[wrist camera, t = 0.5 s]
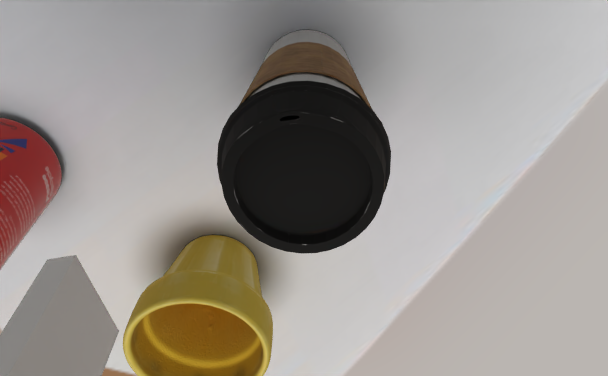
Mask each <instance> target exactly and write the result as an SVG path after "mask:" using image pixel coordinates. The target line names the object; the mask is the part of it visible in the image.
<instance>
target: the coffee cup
mask: <svg viewBox="0 0 608 376" xmlns="http://www.w3.org/2000/svg"><path fill="white" fill-rule="evenodd" d="M390 162H391V150H390V145H389V140H388V136H387V134H386V131H385V129H384V127H383V125H382V122H381V121H380V120H379V118H378V117H377V116H376V114H375V113H374V112H373V110H372V108H371V106H370V104H369V102H368V100H367V98H366V96H365V94H364V91H363V89H362V87H361V85H360V83H359V81H358V79H357V77H356V75H355V73H354V70H353V68H352V67H351V64H350V62H349V59H348V57H347V55H346V53H345V51H344V50H343V48H342V47H341V45H340V44H339V43H338V42H337V41H336V40H335V39H333V38H332V37H330V36H328V35H327V34H324V33H322V32H319V31H314V30H299V31H295V32H291V33H289V34H287V35H285V36H283V37H282V38H280V39H279V40H278V41H276V43H275V44H274V45H273V46H272V47H271V48H270V50H269V52H268V54H267V55H266V57H265V59H264V61H263V64H262V65H261V67H260V69H259V71H258V73H257V74H256V76H255V78H254V80H253V82H252V83H251V85H250V87H249V89H248V91H247V92H246V94H245V96H244V98H243V100H242V101H241V103H240V105H239V107H238V108H237V109H236V110H235V111H234V112H233V113H232V114H231V115H230V117H229V119H228V121H227V123H226V124H225V126H224V128H223V130H222V133H221V137H220V140H219V144H218V157H217V166H218V173H219V179H220V182H221V184H222V189H223V194H224V198H225V200H226V203H227V205H228V207H229V210H230V211H231V213H232V214H233V216H234V217H235V219H236V220H237V222H238V223H239V224H240V225H241V226H242V227H243V228H244V229H245V230H246V231H247V232H248V233H249V234H251V235H252V236H254V237H255V238H256V239H258V240H259V241H261V242H263V243H265V244H267V245H269V246H271V247H274V248H277V249H280V250H283V251H287V252H295V253H318V252H323V251H328V250H331V249H334V248H337V247H339V246H342V245H344V244H346V243H347V242H349V241H351V240H352V239H354V238H356V237H357V236H358V235H359V234H360V233H361V232H362V231H364V230H365V229H366V228H367V226H368V225H369V224H370V223H371V221H372V220H373V219H374V217H375V215H376V213H377V211H378V209H379V207H380V205H381V201H382V197H383V194H384V192H385V189H386V187H387V183H388V179H389V175H390Z"/></svg>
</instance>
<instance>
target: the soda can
mask: <svg viewBox="0 0 608 376" xmlns="http://www.w3.org/2000/svg"><path fill="white" fill-rule="evenodd" d="M61 179H62V172H61V166H60V163H59V160H58V158H57V156H56V154H55V152H54V150H53V149H52V148H51V146H50V145H49V144H48V143H47V141H46V140H45V139H44V138H43V137H41V136H40V135H39V134H38V133H37V132H35V131H34V130H32V129H31V128H29V127H27V126H25V125H23V124H21V123H19V122H16V121H14V120H10V119H6V118H0V270H1V269H2V267H3V266H4V265H5V263H6V262H7V260H8V259H9V258H10V256H11V255H12V254H13V252H14V251H15V250H16V248H17V247H18V246H19V244H20V243H21V242H22V240H23V239H24V238H25V236H26V235H27V234H28V232H29V231H30V229H31V228H32V227H33V225H34V224H35V223H36V221H37V220H38V219H39V217H40V216H41V215H42V213H43V212H44V211H45V209H46V208H47V207H48V205H49V204H50V202H51V201H52V200H53V198H54V197H55V195H56V194H57V192H58V190H59V187H60V185H61Z"/></svg>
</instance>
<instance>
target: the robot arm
mask: <svg viewBox="0 0 608 376" xmlns="http://www.w3.org/2000/svg"><path fill="white" fill-rule="evenodd" d="M118 332H119V330H118V329H117V327H116V325H115V323H114V322H113V320H112V318H111V316H110V315H109V313H108V311H107V309H106V307H105V306H104V304H103V302H102V300H101V299H100V297H99V295H98V293H97V292H96V290H95V288H94V286H93V285H92V283H91V281H90V279H89V277H88V276H87V274H86V272H85V270H84V269H83V267H82V265H81V263H80V262H79V260H78V258H77V256H76V255H74V256H67V257H61V258H55V259H49V260H47V261H46V263H45V264H44V266H43V267H42V269H41V271H40V272H39V274H38V275H37V277H36V279H35V280H34V282H33V283H32V285H31V287H30V288H29V290H28V291H27V293H26V295H25V296H24V298H23V299H22V301H21V303H20V304H19V306H18V307H17V309H16V311H15V312H14V314H13V315H12V317H11V319H10V320H9V322H8V323H7V325H6V327H5V328H4V330H3V331H2V333H1V335H0V376H101V375H102V373H103V370H104V368H105V365H106V363H107V360H108V358H109V355H110V353H111V350H112V347H113V345H114V342H115V340H116V337H117V335H118Z"/></svg>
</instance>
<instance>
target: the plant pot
mask: <svg viewBox="0 0 608 376" xmlns="http://www.w3.org/2000/svg"><path fill="white" fill-rule="evenodd" d="M272 336H273V322H272V315H271V312H270V309H269V307H268V305H267V304H266V302H265V300H264V299H263V298H262V294H261V288H260V282H259V275H258V268H257V263H256V260H255V257H254V255H253V254H252V252H251V251H250V250H249V249H248V248H247V247H246V246H245V245H244V244H242V243H241V242H239V241H237V240H235V239H233V238H230V237H227V236H221V235H208V236H202V237H199V238H197V239H195V240H193V241H191V242H190V243H189V244H188V245H186V247H185V248H184V249H183V250H182V252H181V253H180V254H179V256H178V257H177V259H176V260H175V261H174V263H173V264H172V265H171V267H170V268H169V269H168V271H167V272H166V273H165V275H164V276H163V277H161V278H159V279H158V280H156V281H154V282H153V283H152V284H151V285H149V286H148V287H147V288H146V289H145V291H144V292H143V293H142V294H141V296H140V298H139V300H138V302H137V304H136V306H135V308H134V310H133V312H132V314H131V317H130V319H129V322H128V324H127V327H126V329H125V333H124V337H123V350H124V354H125V357H126V359H127V362H128V363H129V365H130V367H131V368H132V369H133V371H134V372H135V373H136V374H137V375H138V376H263V375H264V373H265V372H266V370H267V368H268V365H269V362H270V357H271V349H272Z"/></svg>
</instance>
